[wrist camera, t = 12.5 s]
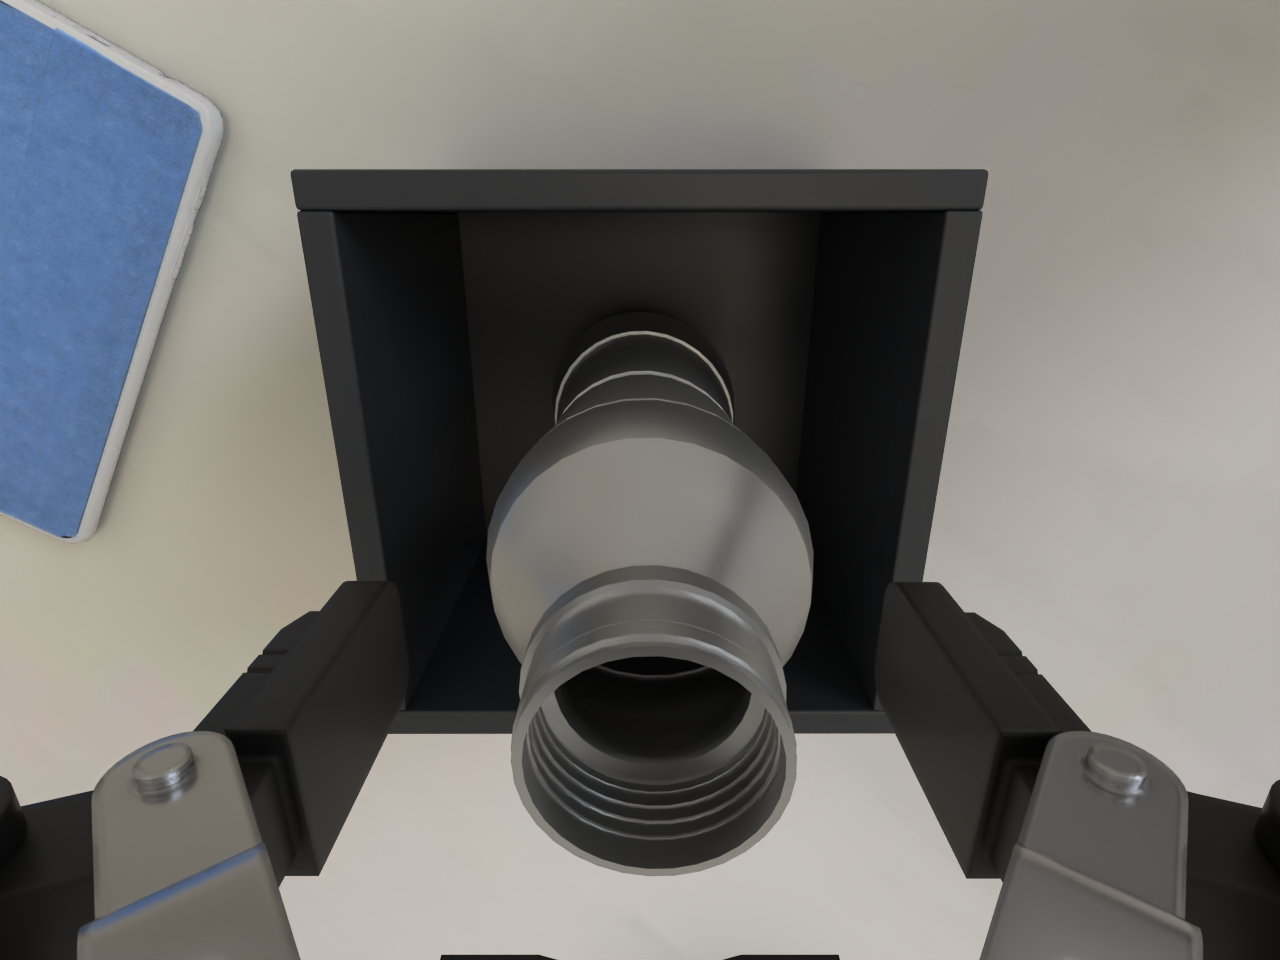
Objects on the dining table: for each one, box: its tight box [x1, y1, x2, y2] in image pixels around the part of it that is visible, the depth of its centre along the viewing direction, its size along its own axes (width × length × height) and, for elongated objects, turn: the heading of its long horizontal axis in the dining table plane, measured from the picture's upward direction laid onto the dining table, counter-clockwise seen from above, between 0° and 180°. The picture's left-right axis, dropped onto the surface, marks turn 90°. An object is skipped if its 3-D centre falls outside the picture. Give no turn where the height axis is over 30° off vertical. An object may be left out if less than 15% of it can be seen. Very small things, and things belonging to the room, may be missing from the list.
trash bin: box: [291, 169, 988, 734], centre depth 23 cm, size 15×15×12 cm
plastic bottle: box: [486, 312, 814, 876], centre depth 18 cm, size 6×7×20 cm
